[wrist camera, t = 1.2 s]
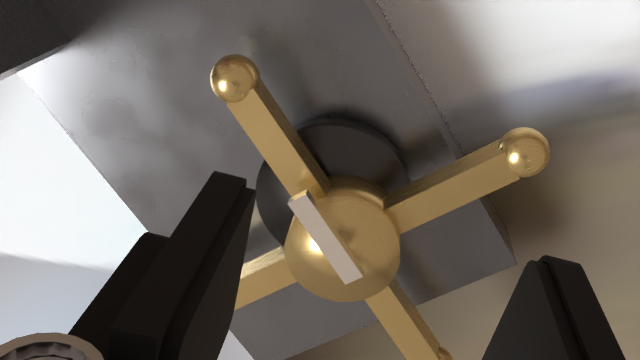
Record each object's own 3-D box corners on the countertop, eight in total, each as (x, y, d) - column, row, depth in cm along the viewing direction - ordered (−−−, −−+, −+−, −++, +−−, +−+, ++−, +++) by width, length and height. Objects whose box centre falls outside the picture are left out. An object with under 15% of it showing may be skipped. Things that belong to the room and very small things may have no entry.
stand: (506, 229, 29) (596, 526, 15) (273, 329, 33) (186, 625, 20) (246, -225, 22) (-2, -398, 8) (-3, -17, 26) (-415, 83, 13)
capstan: (617, 278, 25) (651, 340, 22) (295, 400, 31) (282, 465, 28) (431, -84, 20) (437, -77, 17) (84, 142, 26) (34, 182, 22)
